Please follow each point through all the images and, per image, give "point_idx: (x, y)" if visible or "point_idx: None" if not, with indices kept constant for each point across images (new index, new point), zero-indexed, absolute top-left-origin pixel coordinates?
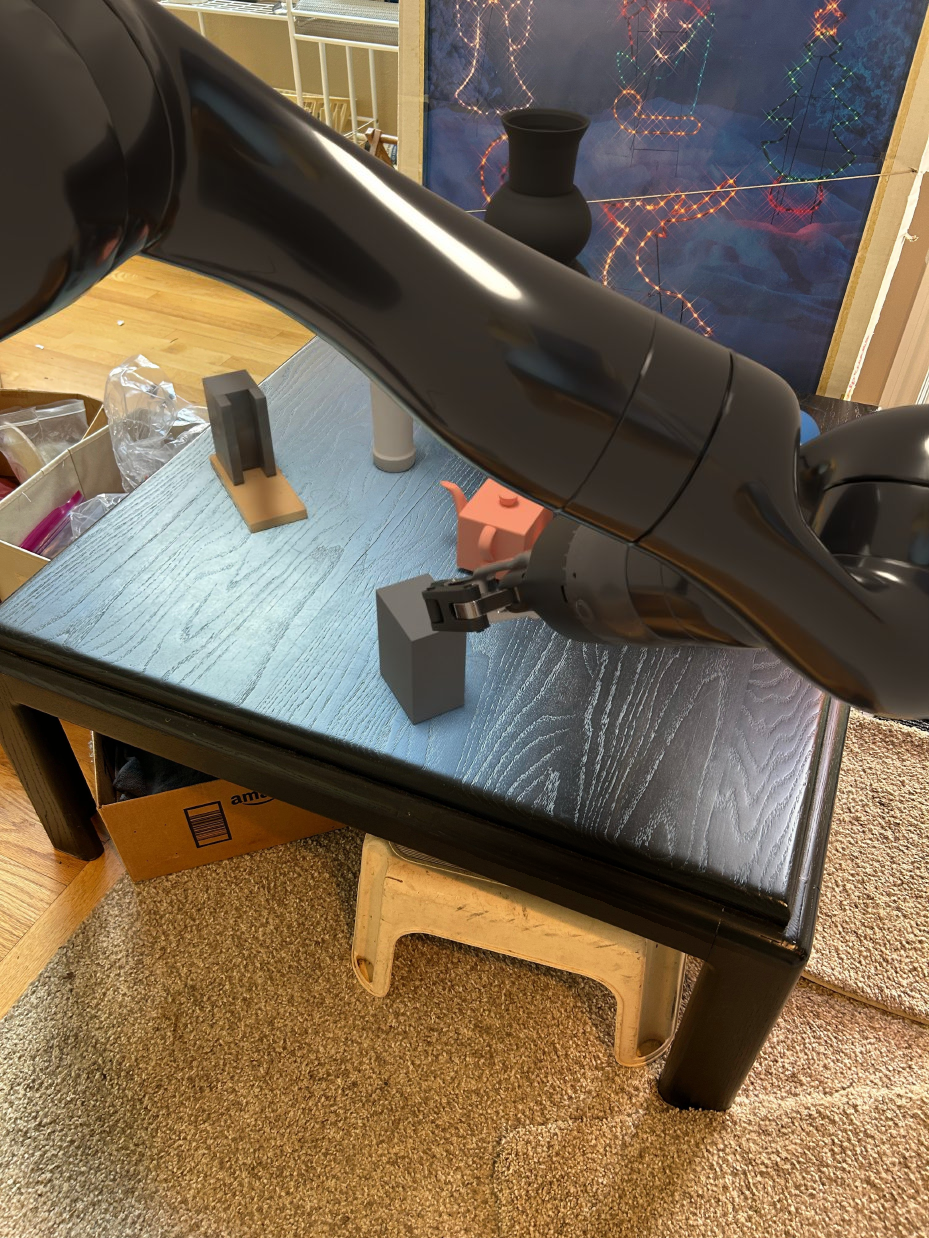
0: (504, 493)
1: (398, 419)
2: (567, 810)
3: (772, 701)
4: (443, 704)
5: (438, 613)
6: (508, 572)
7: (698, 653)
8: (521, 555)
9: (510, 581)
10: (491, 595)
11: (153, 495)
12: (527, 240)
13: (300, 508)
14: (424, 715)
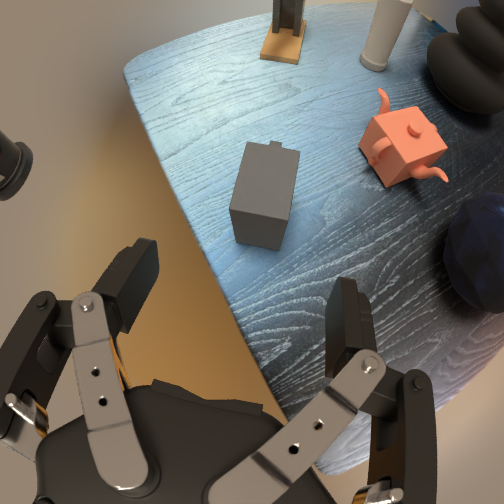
0: (413, 124)
1: (382, 42)
2: (272, 372)
3: (444, 378)
4: (261, 244)
5: (45, 336)
6: (79, 429)
7: (442, 317)
8: (91, 450)
9: (36, 470)
10: (14, 448)
11: (233, 24)
12: (502, 8)
13: (294, 57)
14: (245, 242)
